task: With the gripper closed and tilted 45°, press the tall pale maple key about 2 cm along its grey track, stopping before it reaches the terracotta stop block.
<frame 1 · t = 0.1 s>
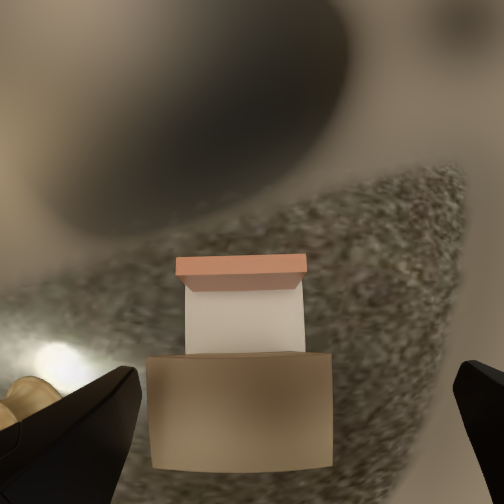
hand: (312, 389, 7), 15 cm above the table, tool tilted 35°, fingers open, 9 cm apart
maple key: (243, 398, 14), point 7 cm above the table, slide at 0.0 cm
key base: (247, 406, 21), on the table
hand bell: (40, 421, 20), on the table
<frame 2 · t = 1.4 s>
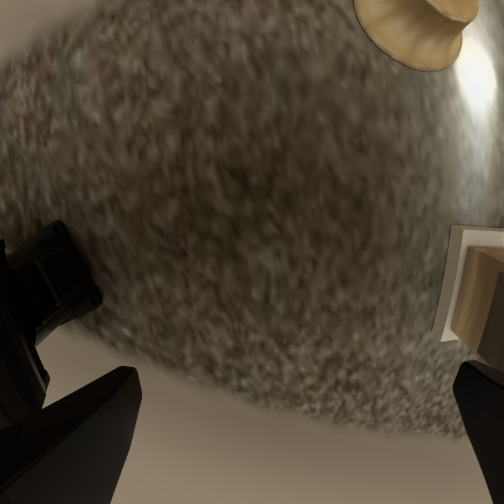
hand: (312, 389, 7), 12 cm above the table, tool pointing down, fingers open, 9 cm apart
key base: (448, 281, 19), on the table
hand bell: (409, 18, 15), on the table
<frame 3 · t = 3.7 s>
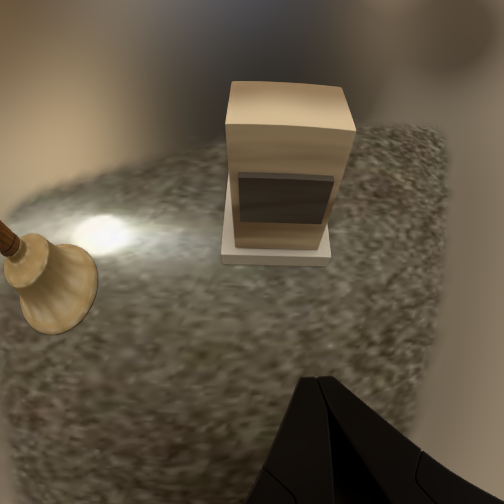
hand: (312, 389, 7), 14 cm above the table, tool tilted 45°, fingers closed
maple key: (282, 177, 19), point 7 cm above the table, slide at 0.0 cm
key base: (275, 259, 24), on the table
hand bell: (58, 289, 23), on the table
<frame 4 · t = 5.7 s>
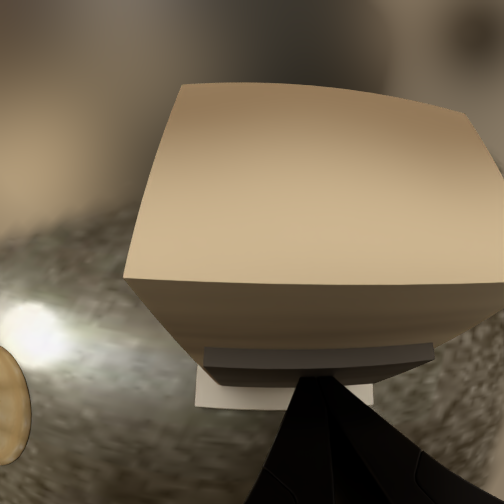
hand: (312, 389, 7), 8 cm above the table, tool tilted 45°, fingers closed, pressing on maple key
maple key: (307, 305, 9), point 7 cm above the table, slide at 0.5 cm, touching gripper
key base: (283, 400, 14), on the table
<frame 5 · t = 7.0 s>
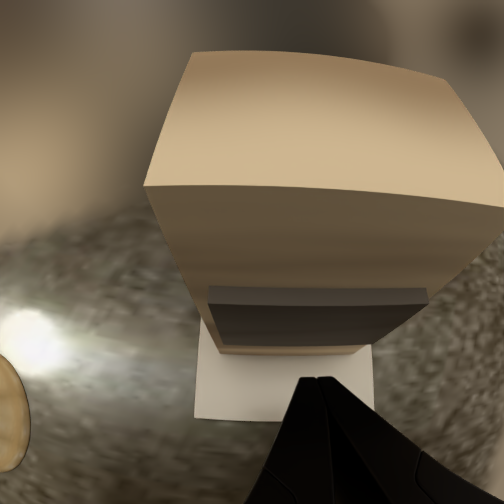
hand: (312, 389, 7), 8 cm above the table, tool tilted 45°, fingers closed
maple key: (306, 262, 10), point 7 cm above the table, slide at 2.5 cm
key base: (283, 410, 14), on the table
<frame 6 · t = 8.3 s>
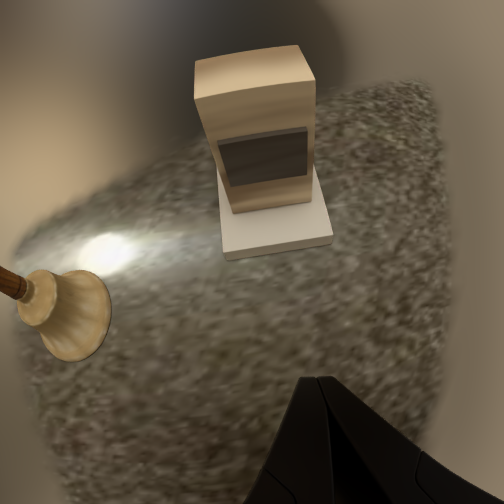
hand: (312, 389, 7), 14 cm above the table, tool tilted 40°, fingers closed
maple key: (261, 138, 20), point 7 cm above the table, slide at 2.5 cm
key base: (278, 246, 24), on the table
hand bell: (74, 315, 24), on the table
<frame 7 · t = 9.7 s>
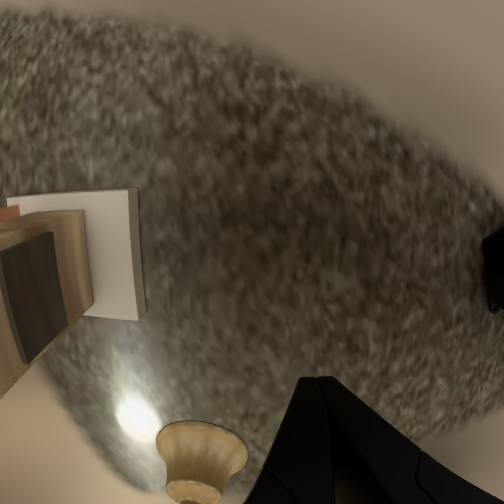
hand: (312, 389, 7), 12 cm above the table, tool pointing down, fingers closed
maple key: (11, 289, 12), point 7 cm above the table, slide at 2.5 cm
key base: (133, 252, 19), on the table
hand bell: (201, 448, 24), on the table
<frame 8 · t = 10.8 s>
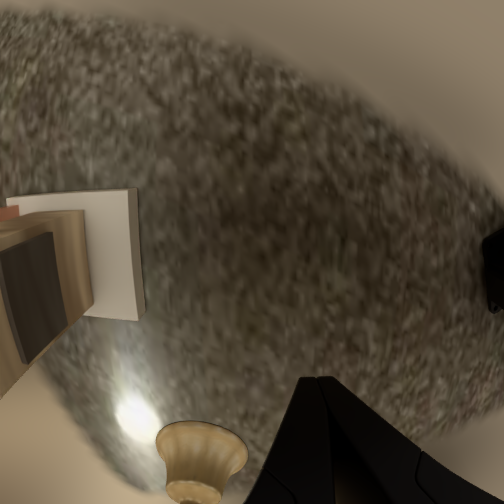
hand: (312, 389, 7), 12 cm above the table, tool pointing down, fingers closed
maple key: (10, 289, 12), point 7 cm above the table, slide at 2.5 cm
key base: (133, 252, 19), on the table
hand bell: (201, 448, 24), on the table
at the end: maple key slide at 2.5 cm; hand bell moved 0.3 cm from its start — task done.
